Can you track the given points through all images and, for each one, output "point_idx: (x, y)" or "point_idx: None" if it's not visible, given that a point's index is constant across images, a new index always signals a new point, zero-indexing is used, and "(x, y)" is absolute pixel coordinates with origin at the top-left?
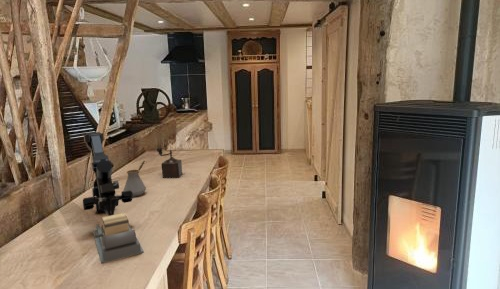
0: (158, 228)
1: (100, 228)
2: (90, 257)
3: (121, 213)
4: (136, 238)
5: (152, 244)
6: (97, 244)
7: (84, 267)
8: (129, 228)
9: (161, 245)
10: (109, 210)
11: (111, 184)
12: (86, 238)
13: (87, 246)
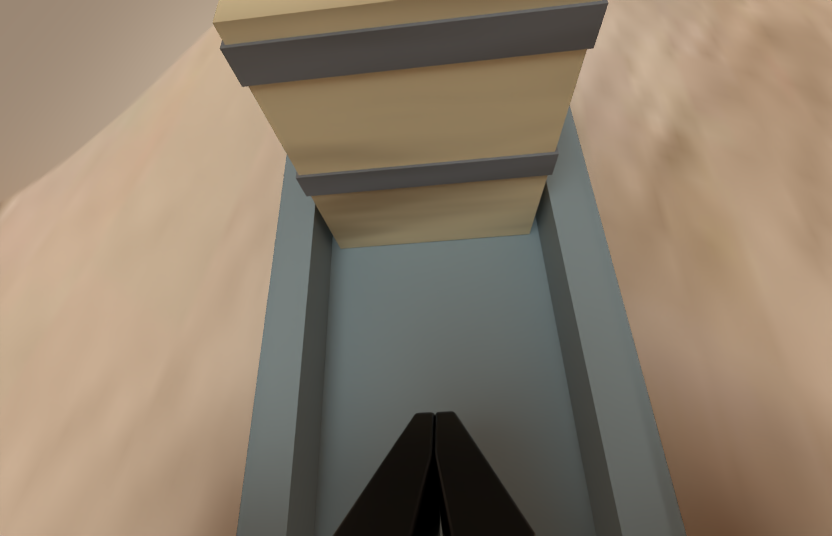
0: (56, 337)
1: (610, 467)
2: (618, 92)
3: (270, 7)
4: (284, 196)
5: (228, 106)
6: (594, 224)
7: (633, 9)
8: (281, 274)
9: (192, 79)
10: (462, 532)
11: None
12: (753, 476)
13: (684, 263)
